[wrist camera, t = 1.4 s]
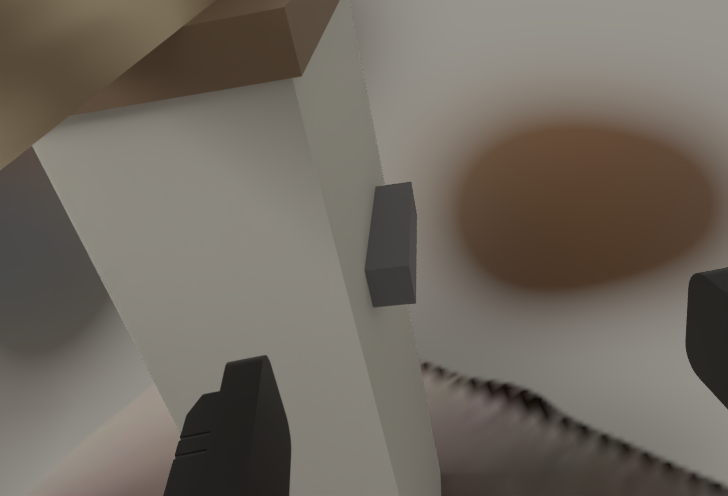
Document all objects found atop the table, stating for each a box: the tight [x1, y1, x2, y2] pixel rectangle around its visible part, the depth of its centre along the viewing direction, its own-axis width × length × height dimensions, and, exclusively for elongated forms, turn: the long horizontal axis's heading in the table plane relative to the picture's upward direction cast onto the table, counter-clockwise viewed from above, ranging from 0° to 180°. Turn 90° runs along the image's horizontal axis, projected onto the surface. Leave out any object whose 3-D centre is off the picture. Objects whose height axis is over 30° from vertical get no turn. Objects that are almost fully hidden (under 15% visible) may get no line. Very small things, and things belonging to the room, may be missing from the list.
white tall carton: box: [32, 0, 441, 496], centre depth 27 cm, size 13×9×32 cm
